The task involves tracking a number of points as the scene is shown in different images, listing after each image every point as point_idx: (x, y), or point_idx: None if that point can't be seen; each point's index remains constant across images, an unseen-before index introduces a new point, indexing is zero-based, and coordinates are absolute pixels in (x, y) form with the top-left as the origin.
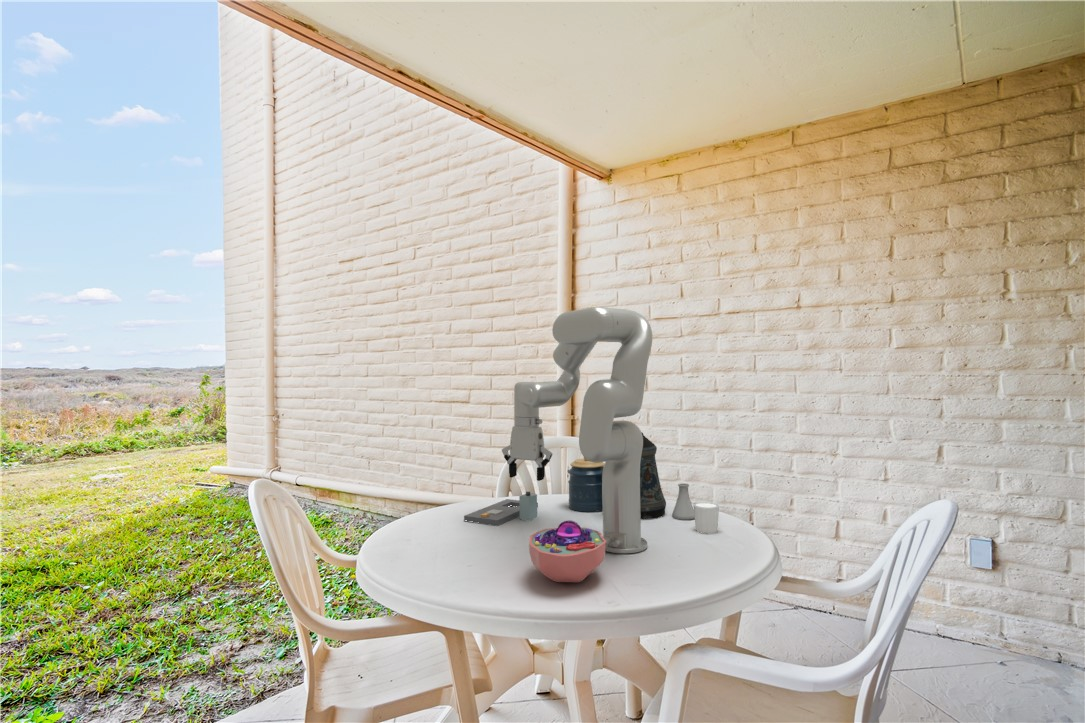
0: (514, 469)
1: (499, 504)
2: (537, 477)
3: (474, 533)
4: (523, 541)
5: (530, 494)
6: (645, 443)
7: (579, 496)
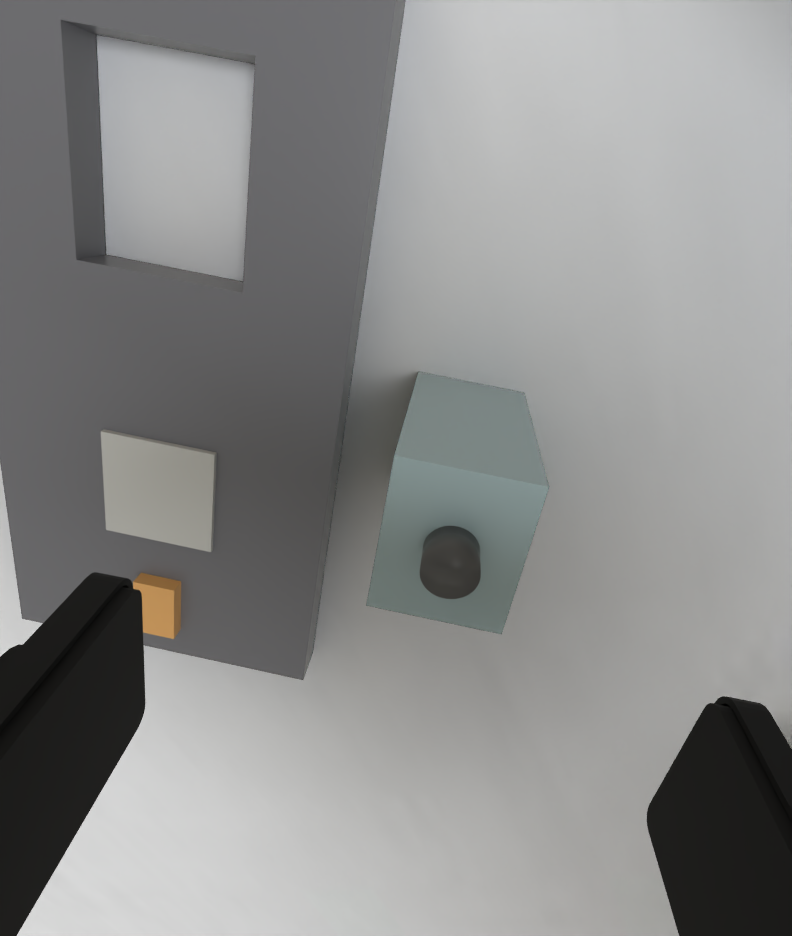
0: (64, 757)
1: (23, 196)
2: (673, 876)
3: (261, 778)
4: (574, 854)
5: (464, 501)
6: None
7: None
